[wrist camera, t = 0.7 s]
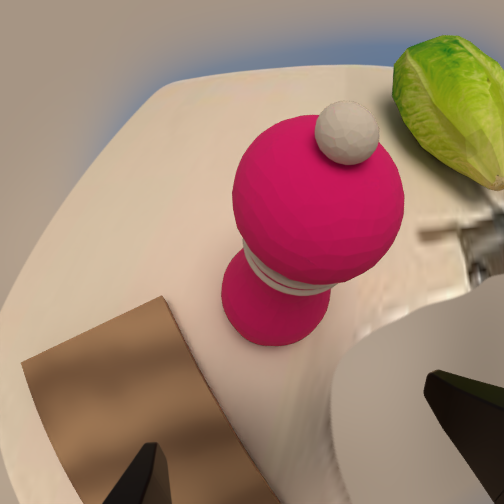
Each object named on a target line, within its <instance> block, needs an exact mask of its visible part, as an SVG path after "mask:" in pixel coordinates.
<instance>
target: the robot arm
mask: <svg viewBox="0 0 504 504" xmlns="http://www.w3.org/2000/svg"><path fill="white" fill-rule="evenodd" d="M424 396H425V398H426V400H427V402H428V404H429V405H430V407H431V409H432V411H433V412H434V414H435V416H436V418H437V420H438V421H439V423H440V425H441V426H442V428H443V429H444V431H445V432H446V434H447V435H448V436H449V438H450V439H451V441H452V442H453V443H454V445H455V446H456V448H457V449H458V450H459V452H460V453H461V455H462V456H463V458H464V459H465V461H466V462H467V464H468V465H469V466H470V468H471V469H472V471H473V472H474V474H475V475H476V477H477V478H478V480H479V481H480V483H481V484H482V486H483V487H484V489H485V490H486V491H487V493H488V495H489V496H490V498H491V499H492V501H493V502H494V504H504V388H502V387H498V386H494V385H491V384H487V383H483V382H480V381H476V380H472V379H469V378H465V377H462V376H458V375H455V374H452V373H448V372H445V371H442V370H435V371H432V372H430V373H429V374H428V375H427V378H426V382H425V387H424ZM102 504H172V499H171V491H170V482H169V473H168V464H167V459H166V457H165V455H164V453H163V451H162V449H161V447H160V445H159V443H158V442H146V443H144V444H143V446H142V447H141V449H140V450H139V452H138V453H137V454H136V456H135V457H134V459H133V460H132V462H131V463H130V464H129V466H128V467H127V469H126V470H125V472H124V473H123V474H122V476H121V477H120V479H119V480H118V481H117V483H116V484H115V486H114V487H113V489H112V490H111V491H110V493H109V494H108V496H107V497H106V498H105V500H104V501H103V503H102Z"/></svg>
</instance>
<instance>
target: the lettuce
mask: <svg viewBox="0 0 504 504" xmlns="http://www.w3.org/2000/svg"><path fill="white" fill-rule="evenodd" d="M392 97H393V99H394V101H395V103H396V105H397V107H398V109H399V112H400V114H401V117H402V119H403V122H404V123H405V124H406V126H407V127H408V128H409V130H410V131H411V133H412V134H413V135H414V137H415V138H416V139H417V141H418V142H419V144H420V145H421V146H422V148H423V149H425V150H426V151H428V152H429V153H430V154H432V155H433V156H434V157H436V158H437V159H438V160H440V161H441V162H442V163H443V164H445V165H447V166H449V167H450V168H452V169H454V170H455V171H457V172H459V173H461V174H463V175H465V176H467V177H469V178H471V179H472V180H474V181H475V182H477V183H479V184H480V185H482V186H484V187H486V188H488V189H491V190H494V191H501V190H503V189H504V70H503V69H502V67H500V65H499V64H498V62H496V61H495V60H494V59H492V58H491V57H489V56H488V55H486V54H485V53H483V52H482V51H481V50H480V49H479V48H477V47H476V46H475V45H474V44H472V43H471V42H470V41H468V40H466V39H464V38H462V37H460V36H450V35H449V36H448V35H447V36H446V35H442V36H439V37H436V38H433V39H431V40H427V41H425V42H422V43H419V44H417V45H414V46H411V47H409V48H407V49H406V51H405V52H404V53H403V54H402V55H401V57H400V58H399V59H398V60H397V61H396V63H395V64H394V73H393V89H392Z"/></svg>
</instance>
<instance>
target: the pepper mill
mask: <svg viewBox="0 0 504 504" xmlns="http://www.w3.org/2000/svg"><path fill="white" fill-rule="evenodd" d="M232 200H233V211H234V216H235V220H236V224H237V228H238V230H239V232H240V233H241V235H242V237H243V249H242V250H240V251H239V252H238V253H237V254H236V255H235V257H234V258H233V259H232V260H231V262H230V263H229V265H228V267H227V269H226V271H225V274H224V278H223V283H222V292H221V297H222V304H223V308H224V311H225V314H226V315H227V317H228V319H229V321H230V322H231V324H232V325H233V326H234V328H235V329H236V330H237V331H238V332H239V333H240V334H241V335H242V336H243V337H244V338H246V339H247V340H249V341H251V342H253V343H255V344H258V345H264V346H283V345H288V344H292V343H295V342H297V341H299V340H301V339H303V338H304V337H306V336H307V335H309V334H310V333H311V332H312V331H313V330H314V329H315V328H316V327H317V325H318V324H319V323H320V321H321V320H322V319H323V317H324V315H325V313H326V311H327V308H328V304H329V300H330V292H331V288H332V287H334V286H335V285H337V284H338V283H341V282H346V281H348V280H350V279H352V278H354V277H356V276H358V275H360V274H362V273H364V272H366V271H367V270H369V269H370V268H372V267H373V266H375V265H376V263H377V262H378V261H379V260H380V259H381V258H382V257H383V256H384V255H385V254H386V253H387V251H388V250H389V248H390V247H391V245H392V244H393V242H394V240H395V238H396V236H397V233H398V231H399V229H400V226H401V222H402V219H403V215H404V191H403V187H402V182H401V178H400V175H399V172H398V169H397V167H396V165H395V163H394V162H393V160H392V158H391V157H390V155H389V153H388V152H387V151H386V150H385V149H384V147H383V146H382V145H381V144H380V143H379V127H378V124H377V121H376V119H375V117H374V116H373V114H372V113H371V112H370V111H369V110H368V109H367V108H365V107H364V106H362V105H360V104H358V103H356V102H350V101H339V102H336V103H333V104H330V105H329V106H328V107H326V108H325V109H324V110H323V111H322V112H321V113H320V115H304V116H298V117H295V118H291V119H287V120H283V121H281V122H279V123H277V124H275V125H273V126H272V127H270V128H268V129H267V130H266V131H264V132H263V133H261V134H260V135H259V136H258V137H257V138H256V139H255V140H254V141H253V142H252V144H251V145H250V146H249V148H248V149H247V150H246V152H245V153H244V155H243V156H242V159H241V161H240V163H239V166H238V168H237V171H236V175H235V179H234V185H233V191H232Z"/></svg>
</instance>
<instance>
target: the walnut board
mask: <svg viewBox="0 0 504 504" xmlns="http://www.w3.org/2000/svg"><path fill="white" fill-rule="evenodd" d="M21 365H22V368H23V371H24V374H25V377H26V380H27V383H28V386H29V389H30V392H31V395H32V398H33V401H34V403H35V406H36V409H37V411H38V414H39V416H40V419H41V421H42V423H43V426H44V428H45V431H46V433H47V435H48V437H49V440H50V442H51V444H52V446H53V448H54V450H55V452H56V454H57V457H58V459H59V461H60V463H61V464H62V466H63V468H64V470H65V472H66V474H67V476H68V478H69V480H70V481H71V483H72V485H73V487H74V488H75V490H76V492H77V494H78V495H79V497H80V499H81V500H82V502H83V504H102V503H103V501H104V500H105V498H106V497H107V496H108V494H109V493H110V491H111V490H112V489H113V487H114V486H115V484H116V483H117V481H118V480H119V479H120V477H121V476H122V474H123V473H124V472H125V470H126V469H127V467H128V466H129V464H130V463H131V462H132V460H133V459H134V457H135V456H136V454H137V453H138V452H139V450H140V449H141V447H142V446H143V444H144V443H146V442H158V443H159V445H160V447H161V449H162V451H163V453H164V455H165V457H166V459H167V464H168V473H169V482H170V491H171V499H172V504H281V503H280V501H279V500H278V499H277V497H276V496H275V494H274V493H273V491H272V490H271V488H270V487H269V485H268V484H267V482H266V481H265V479H264V478H263V476H262V475H261V473H260V472H259V470H258V469H257V467H256V466H255V464H254V462H253V461H252V459H251V458H250V456H249V455H248V453H247V451H246V450H245V448H244V446H243V445H242V443H241V442H240V440H239V438H238V437H237V435H236V433H235V432H234V430H233V428H232V427H231V425H230V423H229V421H228V420H227V418H226V416H225V415H224V413H223V411H222V409H221V408H220V406H219V404H218V402H217V400H216V399H215V397H214V395H213V393H212V391H211V390H210V388H209V386H208V384H207V382H206V380H205V379H204V377H203V375H202V373H201V371H200V369H199V367H198V365H197V363H196V361H195V359H194V358H193V356H192V354H191V352H190V350H189V348H188V346H187V344H186V342H185V340H184V338H183V336H182V334H181V332H180V329H179V327H178V325H177V323H176V321H175V319H174V317H173V315H172V313H171V311H170V308H169V306H168V304H167V302H166V301H165V299H164V298H163V296H160V297H158V298H155V299H153V300H151V301H149V302H147V303H145V304H143V305H141V306H139V307H137V308H134V309H132V310H130V311H128V312H126V313H124V314H122V315H120V316H118V317H116V318H114V319H111V320H109V321H107V322H105V323H103V324H101V325H99V326H97V327H95V328H93V329H90V330H88V331H86V332H84V333H82V334H80V335H78V336H76V337H74V338H72V339H69V340H67V341H65V342H63V343H61V344H59V345H57V346H55V347H53V348H51V349H48V350H46V351H44V352H42V353H40V354H38V355H36V356H34V357H32V358H29V359H27V360H25V361H23V362H21Z"/></svg>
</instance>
